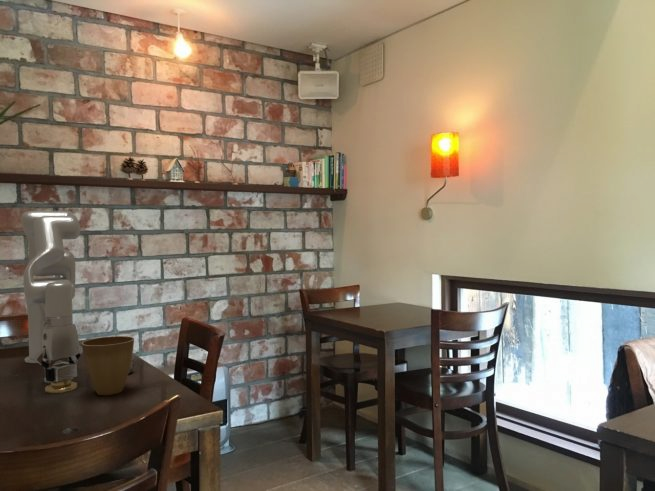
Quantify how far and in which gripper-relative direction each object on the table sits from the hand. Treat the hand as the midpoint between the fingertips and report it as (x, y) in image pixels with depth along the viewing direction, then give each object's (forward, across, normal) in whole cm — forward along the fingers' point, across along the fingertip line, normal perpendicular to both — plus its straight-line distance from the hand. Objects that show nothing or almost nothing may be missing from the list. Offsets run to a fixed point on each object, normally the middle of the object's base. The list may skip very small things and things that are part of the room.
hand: (61, 377), depth 166 cm
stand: (+4, +6, +10) cm, 13 cm away
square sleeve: (0, 0, 0) cm, 0 cm away
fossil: (+4, +19, -1) cm, 20 cm away
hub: (+4, 0, 0) cm, 4 cm away
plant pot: (+4, +5, -16) cm, 18 cm away
